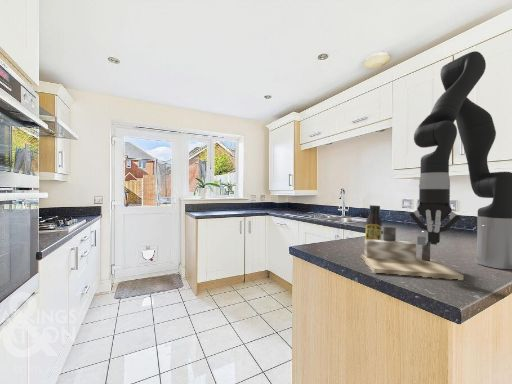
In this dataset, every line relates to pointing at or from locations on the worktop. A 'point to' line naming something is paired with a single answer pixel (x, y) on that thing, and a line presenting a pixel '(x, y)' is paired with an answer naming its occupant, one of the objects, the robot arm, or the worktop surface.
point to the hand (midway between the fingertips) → (433, 244)
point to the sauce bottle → (373, 224)
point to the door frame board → (412, 268)
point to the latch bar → (422, 238)
